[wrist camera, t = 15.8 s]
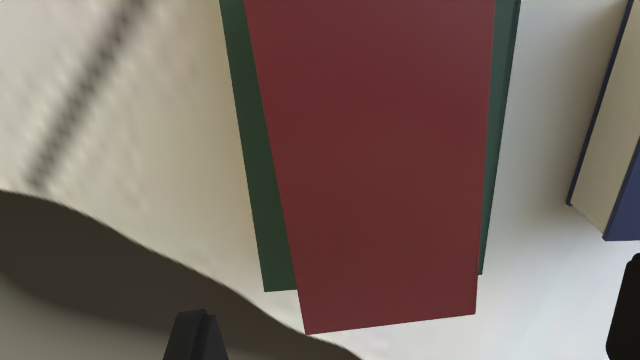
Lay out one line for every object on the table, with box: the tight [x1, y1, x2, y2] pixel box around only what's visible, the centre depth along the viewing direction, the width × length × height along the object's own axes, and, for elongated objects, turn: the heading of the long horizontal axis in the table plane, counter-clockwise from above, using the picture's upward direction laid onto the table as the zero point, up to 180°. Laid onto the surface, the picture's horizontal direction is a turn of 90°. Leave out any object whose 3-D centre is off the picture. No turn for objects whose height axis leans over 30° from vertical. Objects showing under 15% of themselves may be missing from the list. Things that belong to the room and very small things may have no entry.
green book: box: [219, 0, 521, 292], centre depth 20 cm, size 11×16×4 cm
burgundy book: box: [243, 0, 495, 335], centre depth 17 cm, size 7×13×4 cm, turn 7°
